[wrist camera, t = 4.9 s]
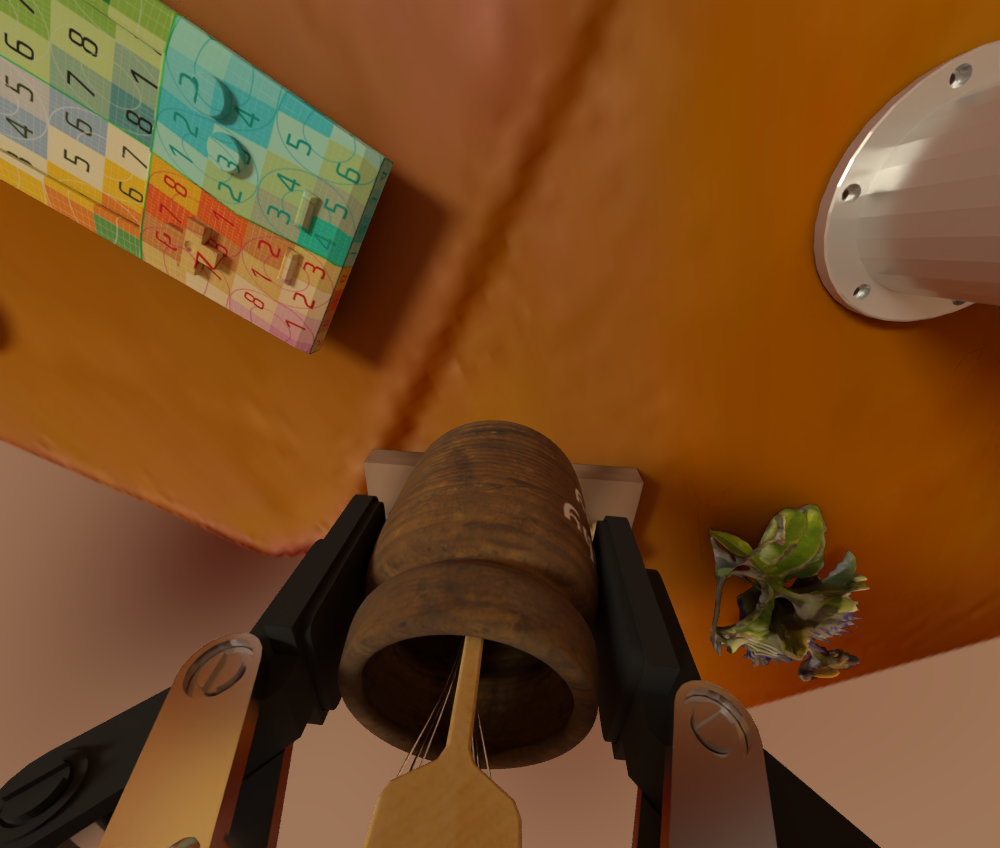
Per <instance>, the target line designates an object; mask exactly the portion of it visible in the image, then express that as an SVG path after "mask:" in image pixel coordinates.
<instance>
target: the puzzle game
mask: <svg viewBox="0 0 1000 848" xmlns="http://www.w3.org/2000/svg"><path fill="white" fill-rule="evenodd" d="M392 165H393V162H392V161H390V160H389V159H387V158H386V157H384V156H383V155H382V154H380V153H379V152H377V151H376V150H374V149H373V148H371V147H370V146H369V145H367V144H366V143H364V142H363V141H361V140H360V139H359V138H357V137H356V136H354V135H353V134H351V133H350V132H348V131H347V130H346V129H344V128H343V127H341V126H340V125H338V124H337V123H336V122H334V121H333V120H331V119H330V118H328V117H327V116H326V115H324V114H323V113H321V112H320V111H318V110H317V109H315V108H314V107H313V106H311V105H310V104H308V103H307V102H305V101H304V100H303V99H301V98H300V97H298V96H297V95H295V94H294V93H292V92H291V91H290V90H288V89H287V88H285V87H284V86H282V85H281V84H280V83H278V82H277V81H275V80H274V79H272V78H271V77H270V76H268V75H267V74H265V73H264V72H262V71H261V70H259V69H258V68H257V67H255V66H254V65H252V64H251V63H249V62H248V61H247V60H245V59H244V58H242V57H241V56H239V55H238V54H236V53H235V52H234V51H232V50H231V49H229V48H228V47H226V46H225V45H224V44H222V43H221V42H219V41H218V40H216V39H215V38H213V37H212V36H211V35H209V34H208V33H206V32H205V31H203V30H202V29H201V28H199V27H198V26H196V25H195V24H193V23H192V22H191V21H189V20H188V19H186V18H185V17H183V16H182V15H180V14H179V13H178V12H176V11H175V10H173V9H172V8H170V7H169V6H168V5H166V4H165V3H163V2H162V1H160V0H0V179H1V180H3V181H5V182H7V183H8V184H10V185H12V186H14V187H16V188H17V189H19V190H21V191H23V192H24V193H26V194H28V195H30V196H31V197H33V198H35V199H37V200H38V201H40V202H42V203H44V204H46V205H47V206H49V207H51V208H53V209H54V210H56V211H58V212H60V213H61V214H63V215H65V216H67V217H69V218H70V219H72V220H74V221H76V222H77V223H79V224H81V225H83V226H84V227H86V228H88V229H90V230H91V231H93V232H95V233H97V234H98V235H100V236H102V237H104V238H105V239H107V240H109V241H111V242H112V243H114V244H116V245H118V246H119V247H121V248H123V249H125V250H126V251H128V252H130V253H131V254H133V255H135V256H137V257H138V258H140V259H142V260H144V261H145V262H147V263H149V264H151V265H152V266H154V267H156V268H158V269H159V270H161V271H163V272H165V273H166V274H168V275H170V276H172V277H173V278H175V279H177V280H179V281H180V282H182V283H184V284H186V285H187V286H189V287H191V288H192V289H194V290H196V291H198V292H199V293H201V294H203V295H205V296H206V297H208V298H210V299H212V300H213V301H215V302H217V303H219V304H220V305H222V306H224V307H226V308H227V309H229V310H231V311H233V312H234V313H236V314H238V315H240V316H241V317H243V318H245V319H247V320H248V321H250V322H252V323H253V324H255V325H257V326H259V327H260V328H262V329H264V330H266V331H267V332H269V333H271V334H273V335H274V336H276V337H278V338H280V339H281V340H283V341H285V342H287V343H288V344H290V345H292V346H294V347H295V348H298V349H300V350H302V351H304V352H306V353H309V354H312V353H314V352H316V351H318V350H320V348H321V346H322V343H323V341H324V338H325V336H326V333H327V331H328V328H329V326H330V323H331V320H332V318H333V315H334V313H335V310H336V308H337V305H338V303H339V300H340V298H341V295H342V292H343V290H344V287H345V285H346V282H347V280H348V277H349V275H350V272H351V270H352V267H353V264H354V262H355V259H356V257H357V254H358V252H359V249H360V247H361V244H362V242H363V239H364V237H365V234H366V231H367V229H368V226H369V224H370V221H371V219H372V216H373V214H374V211H375V209H376V206H377V203H378V201H379V198H380V196H381V193H382V191H383V188H384V186H385V183H386V181H387V178H388V175H389V173H390V170H391V168H392Z"/></svg>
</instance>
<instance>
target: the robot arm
mask: <svg viewBox="0 0 1000 848" xmlns="http://www.w3.org/2000/svg"><path fill="white" fill-rule="evenodd" d="M814 254H815V261H816V267H817V271H818V273H819V275H820V278H821V280H822V283H823V285H824V287H825V288H826V289H827V290H828V292H829V293H830V294H831V296H832V297H833V298H834V299H835V300H836V301H837V302H839V303H840V304H841V305H843V306H844V307H845V308H847V309H848V310H850V311H853V312H855V313H858V314H860V315H863V316H866V317H871V318H876V319H880V320H885V321H900V322H910V321H918V320H926V319H932V318H935V317H939V316H942V315H946V314H950V313H953V312H956V311H958V310H960V309H963V308H965V307H967V306H970V305H972V304H974V303H981V304H989V305H997V306H1000V40H998V41H995V42H992V43H988V44H985V45H982V46H980V47H977V48H975V49H973V50H970V51H968V52H966V53H964V54H961V55H959V56H957V57H955V58H952V59H950V60H948V61H946V62H944V63H943V64H941V65H939V66H938V67H936V68H934V69H932V70H931V71H929V72H927V73H926V74H924V75H922V76H920V77H919V78H917V79H916V80H915V81H914V82H912V83H911V84H910V85H909V86H907V87H906V88H905V89H903V90H902V91H901V92H900V93H898V94H897V95H896V96H894V97H893V98H892V99H891V100H890V101H889V102H888V103H887V104H886V105H885V106H884V107H883V108H882V109H881V110H880V111H879V112H878V113H877V114H876V115H875V116H874V117H873V118H872V119H871V120H870V121H869V122H868V123H867V124H866V125H865V127H864V128H863V129H862V131H861V132H860V133H859V134H858V136H857V137H856V138H855V140H854V141H853V142H852V143H851V145H850V146H849V147H848V149H847V150H846V152H845V154H844V155H843V157H842V159H841V160H840V162H839V164H838V166H837V167H836V169H835V171H834V172H833V174H832V176H831V178H830V181H829V183H828V186H827V188H826V190H825V193H824V195H823V198H822V200H821V203H820V207H819V211H818V216H817V220H816V224H815V234H814ZM385 521H386V515H385V507H384V503H383V502H380V501H379V500H378V498H377V496H371V495H359V494H357V495H355V496H354V497H353V498H352V500H351V501H350V502H349V504H348V505H347V507H346V508H345V510H344V511H343V512H342V514H341V515H340V517H339V518H338V520H337V521H336V522H335V524H334V525H333V527H332V528H331V530H330V531H329V532H328V534H327V535H326V537H325V538H324V539H320V540H318V541H316V542H315V544H314V545H313V546H312V547H311V548H310V550H309V551H308V553H307V554H306V555H305V557H304V558H303V560H302V561H301V563H300V564H299V565H298V567H297V568H296V569H295V571H294V572H293V574H292V575H291V576H290V578H289V579H288V580H287V582H286V583H285V584H284V586H283V587H282V589H281V590H280V591H279V593H278V594H277V596H276V597H275V598H274V600H273V601H272V603H271V604H270V605H269V607H268V608H267V609H266V611H265V612H264V614H263V615H262V616H261V618H260V619H259V620H258V622H257V623H256V625H255V626H254V628H253V629H252V630H251V632H250V633H245V632H240V633H231V634H228V635H225V636H222V637H219V638H217V639H215V640H213V641H211V642H210V643H208V644H206V645H205V646H203V647H202V648H201V649H199V650H198V651H197V652H195V653H194V654H193V655H192V656H191V657H190V658H189V659H188V660H187V661H186V663H185V664H184V665H183V666H182V668H181V669H180V671H179V673H178V674H177V676H176V678H175V680H174V682H173V684H172V686H171V687H169V688H168V689H166V690H164V691H162V692H160V693H159V694H156V695H155V696H153V697H151V698H149V699H147V700H145V701H143V702H141V703H139V704H138V705H136V706H134V707H132V708H130V709H128V710H126V711H125V712H122V713H121V714H119V715H117V716H115V717H113V718H111V719H109V720H107V721H106V722H104V723H102V724H100V725H98V726H96V727H94V728H92V729H91V730H89V731H87V732H85V733H83V734H81V735H79V736H77V737H76V738H74V739H72V740H70V741H68V742H66V743H64V744H62V745H61V746H59V747H57V748H55V749H53V750H51V751H49V752H48V753H46V754H45V755H43V756H41V757H40V758H38V759H37V760H35V761H33V762H32V763H30V764H29V765H27V766H26V767H25V768H24V769H22V770H21V771H20V772H19V773H17V774H16V775H15V776H14V777H12V778H11V779H10V780H9V781H8V782H7V783H6V784H5V785H4V786H3V787H2V788H1V789H0V848H276V847H277V841H278V835H279V829H280V823H281V816H282V810H283V804H284V798H285V792H286V786H287V779H288V774H289V768H290V762H291V756H292V750H293V743H294V741H295V740H297V739H298V738H300V737H301V735H302V733H303V731H304V728H305V726H306V724H307V723H309V724H318V725H323V723H324V720H325V718H326V716H327V713H328V711H329V710H334V709H336V707H337V706H338V704H339V702H340V700H341V697H342V696H341V693H340V689H339V684H338V671H339V665H340V661H341V657H342V653H343V649H344V645H345V642H346V638H347V635H348V632H349V628H350V625H351V623H352V620H353V618H354V616H355V614H356V612H357V610H358V609H359V607H360V605H361V604H362V602H363V601H364V600H365V599H366V575H367V569H368V565H369V561H370V557H371V554H372V551H373V548H374V546H375V543H376V541H377V539H378V536H379V534H380V532H381V530H382V527H383V525H384V523H385ZM593 546H594V552H595V558H596V564H597V572H598V581H599V603H598V612H597V616H596V620H595V624H594V627H593V630H592V632H591V633H592V635H593V638H594V640H595V644H596V648H597V653H598V660H599V697H598V707H599V714H600V721H601V727H602V734H603V738H604V740H605V741H607V742H612V748H613V754H614V759H619V760H626V765H627V770H628V776H629V777H630V778H631V779H632V780H633V781H634V782H635V784H636V785H637V786H638V788H637V798H636V808H635V819H634V828H633V838H632V848H881V847H879V846H878V845H877V844H876V843H874V842H873V841H872V840H871V839H870V838H869V837H867V836H866V835H865V834H864V833H863V832H862V831H860V830H859V829H858V828H857V827H855V826H854V825H853V824H852V823H851V822H850V821H849V820H847V819H846V818H845V817H844V816H843V815H841V814H840V813H839V812H838V811H837V810H836V809H834V808H833V807H832V806H831V805H830V804H828V803H827V802H826V801H825V800H824V799H822V798H821V797H820V796H819V795H818V794H816V793H815V792H814V791H813V790H812V789H811V788H810V787H808V786H807V785H806V784H805V783H804V782H802V781H801V780H800V779H799V778H798V777H796V776H795V775H794V774H793V773H792V772H791V771H789V770H788V769H787V768H786V767H784V765H782V764H781V763H780V762H779V761H777V760H776V759H775V758H774V757H773V756H772V755H771V754H769V753H768V752H767V751H766V750H764V749H763V745H762V741H761V737H760V734H759V730H758V728H757V726H756V724H755V723H754V721H753V719H752V717H751V715H750V714H749V713H748V711H747V710H746V709H745V708H744V706H743V705H742V704H741V703H740V702H739V701H738V700H737V699H736V698H735V697H733V696H732V695H731V694H730V693H729V692H728V691H726V690H724V689H722V688H721V687H719V686H717V685H715V684H713V683H709V682H706V681H703V680H701V678H700V675H699V673H698V670H697V668H696V665H695V663H694V660H693V658H692V655H691V652H690V650H689V647H688V645H687V642H686V640H685V637H684V634H683V632H682V629H681V627H680V624H679V622H678V619H677V616H676V614H675V611H674V609H673V606H672V604H671V601H670V598H669V596H668V593H667V591H666V588H665V586H664V583H663V581H662V578H661V576H660V574H659V572H658V571H657V570H653V569H645V566H644V564H643V561H642V558H641V555H640V552H639V549H638V546H637V544H636V541H635V538H634V535H633V532H632V529H631V526H630V524H629V521H628V519H627V518H626V517H617V516H605V517H604V520H603V521H602V520H598V521H597V524H596V528H595V533H594V538H593Z"/></svg>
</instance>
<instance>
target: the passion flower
mask: <svg viewBox="0 0 1000 848" xmlns="http://www.w3.org/2000/svg"><path fill="white" fill-rule="evenodd" d="M826 529H827V527H826V525H825V523H824V521H823V519H822V515H821V511H820V509H819V508H818V507H817V506H816V505H810V504H809V505H805V506H802V507H801V508H799V509H793V508H787V509H783V510H782V511H780V512H779V513H777V514H776V515H775V516H774V517H773V518H772V519H771V521H770V523H769V525H768V527H767V528H766V530H765V532H764V533H763V535H762V538H761V540H760V543H759V544H758V546H757V548H756V549H754V550H753V549H752V548H751V547H750V545H749V544H748V543H747V542H745V541H743V540H742V539H740V538H739V537H737V536H735V535H732V534H729V533H726V532H721V531H712V528H710V529H709V533H710V536H711V538H710V539H711V543H712V547H713V551H714V557H715V562H716V565H715V576H716V579H717V593H716V602H715V611H714V617H713V622H712V626H711V636H710V641H711V642H712V643H713V647H714V649H715V650H716V651H717V652H718V653H719V656H720V655H721V645H724V646H726V647H727V651H728V652H729V653H731V654H732V653H734V652H735V651H736V650H737V649H738V647H739V646H743V647H744V648H745V649H746V651H747V654H745V655H744V657H745V658H750V659H752V660H753V666H758V665H759V664H760V663H762V665H763V666H766V664H767V665H768V664H769V661H770V660H771V659H773V660H774V661H775V662H776V663H778V662H779V660H782V661H783V662H787V663H789V662H792V659H794V660H798V661H800V660H802V659H803V656H805V657H809V654H808V651H810V652H811V655H810V657H809V658H808V659H807V660H805V661H803V662H802V663H801V665H800V667H799V670H798V676H799V677H800V678H801V679H802V680H803V681H809V680H814V679H817V678H818V677H820V678H832V677H835V676H838V675H839V674H840V672H839V669H848V668H850V667H854V666H856V665H859V664H860V660H859V659H858V658H857V657H856V656H853V655H850V654H849V653H847V652H845V651H844V650H842V649H835V650H831V651H827V650H826V648H825V647H820V646H819V645H817V644H816V643H815V642H814V641H813V640H815V639H817V640H821V641H825V642H827V643H831V642H830V641H828V640H826V639H825V638H828V637H833V635H840V636H842V634H841V633H839V632H847V633H851V632H850V631H848V630H844V629H841V628H842V627H846V626H848V627H850V625H855V624H853V622H852V620H856V619H862V618H856V617H853V616H852V615H851V614H854V613H855V611H859V609H857V607H856V605H857V604H858V601H852V600H850V599H851V598H850V597H849V595H851V594H850V592H853V591H859V590H867V589H870V588H869V587H867V586H866V585H865V583H859V582H858V581H863V580H867V578H866V577H865V576H862V575H856V574H854V572H855V570H856V567H857V564H856V558H855V556H854V555H853V554H852V553H851V552H850V551H846V552H847V555H846V556H845V557H844V559H843V562H841V563H838V565H837V566H836V568H835V570H833V571H831V572H829V576H828V577H826V578H824V579H823V580H822V581H821V579H820V576H819V575H818V572H819V571H820V570H821V569H822V568H823V566H824V562H823V560H824V548H825V545H826V541H825V535H824V532H825V531H826ZM715 539H716V540H717V541H718V542H720V543H721V544H722V545H723V546H724V547H725V548H727V549H728V550H729V551H730V552H731V553H732V554H733V555H734V556H735V558H736V562H734V561H733V559H732V556H731V554H730V553H728V552H727V551H723V550H721V549H720V548H719V547H718V545H717V542H716V540H715ZM740 565H746V566H749V567H750V569H748V570H744V571H743V570H735V568H736V567H737V566H740ZM733 575H735V576H738V577H740V578H742V579H744V580H745V581H747V582H749V583H750V584H751V585H753V587H752V588H751V589H749V590H747V591H746V592H745V593H743V594H740V595H738V596H737V603H738V607H739V610H740V612H739V613H740V618H739V622H737V624H734V625H732V626H726V627H716V625H717V621H718V617H719V613H720V600H721V594H722V587H723V585H724V583H725V581H726V580H727V578H729V577H731V576H733ZM745 576H749V577H752V578H754V579H755V580H757V581H756V583H755V584H754V583H752V582H751V581H750V580H749V579H747V578H746V577H745ZM794 577H797V579H796V581H795V582H794V583H793V585H792V586H791V587H789V588H787V587H785V586H784V585H783V582H789V580H790V579H791V578H794ZM856 627H857V626H856ZM838 654H839V655H838Z"/></svg>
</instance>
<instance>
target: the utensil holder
mask: <svg viewBox="0 0 1000 848" xmlns="http://www.w3.org/2000/svg"><path fill="white" fill-rule="evenodd" d="M598 603H599V581H598V572H597V564H596V558H595V552H594V546H593V541H592V536H591V531H590V526H589V521H588V516H587V511H586V507H585V502H584V498H583V494H582V490H581V486H580V483H579V480H578V477H577V475H576V473H575V471H574V468H573V466H572V465H571V463H570V461H569V460H568V458H567V457H566V455H565V454H564V453H563V452H562V451H561V449H560V448H559V447H558V446H557V445H556V444H554V443H553V442H552V441H551V440H550V439H548V438H547V437H545V436H544V435H542V434H541V433H539V432H537V431H535V430H533V429H531V428H528V427H526V426H523V425H520V424H516V423H512V422H506V421H493V420H492V421H479V422H473V423H469V424H465V425H463V426H460V427H457V428H455V429H453V430H451V431H449V432H447V433H446V434H444V435H443V436H441V437H440V438H439V439H437V440H436V441H435V442H434V443H433V444H432V445H431V446H430V447H429V448H428V449H427V450H426V451H425V453H424V454H423V455H422V456H421V458H420V459H419V461H418V462H417V464H416V465H415V467H414V469H413V470H412V472H411V474H410V476H409V478H408V479H407V481H406V483H405V485H404V487H403V489H402V490H401V492H400V494H399V496H398V498H397V500H396V502H395V504H394V506H393V508H392V509H391V511H390V513H389V515H388V517H387V519H386V521H385V523H384V525H383V527H382V530H381V532H380V534H379V536H378V539H377V541H376V543H375V546H374V548H373V551H372V554H371V557H370V561H369V565H368V569H367V575H366V599H365V600H364V601H363V602H362V604H361V605H360V607H359V609H358V610H357V612H356V614H355V616H354V618H353V620H352V623H351V625H350V628H349V632H348V635H347V638H346V642H345V645H344V649H343V653H342V657H341V661H340V665H339V671H338V684H339V689H340V693H341V696H342V698H343V700H344V702H345V704H346V706H347V707H348V709H349V711H350V712H351V713H352V714H353V716H354V717H355V718H356V719H357V720H358V721H359V722H360V723H361V724H362V725H363V726H364V727H365V728H366V729H368V730H369V731H370V732H371V733H373V734H374V735H376V736H377V737H379V738H380V739H382V740H384V741H385V742H387V743H389V744H391V745H392V746H394V747H396V748H398V749H401V750H403V751H405V752H407V753H409V754H408V756H407V758H406V760H405V762H404V764H403V766H402V768H401V770H400V771H399V774H398V775H397V777H396V778H395V779H393V780H391V781H390V782H389V783H388V785H387V786H386V787H385V788H384V790H383V791H382V792H381V794H380V795H379V797H378V800H377V803H376V806H375V809H374V813H373V816H372V819H371V822H370V826H369V829H368V832H367V835H366V839H365V842H364V845H363V848H522V824H521V823H522V822H521V817H520V814H519V811H518V809H517V806H516V803H515V801H514V800H513V799H512V798H511V797H510V796H509V795H508V794H507V793H506V792H504V790H502V789H501V788H500V787H499V786H498V785H497V784H496V783H495V782H494V781H493V780H492V779H491V773H490V769H507V768H516V767H523V766H529V765H534V764H538V763H542V762H545V761H548V760H551V759H553V758H555V757H558V756H560V755H562V754H564V753H566V752H567V751H569V750H571V749H572V748H574V747H575V746H576V745H577V744H579V743H580V742H581V741H582V740H583V739H584V738H585V737H586V736H587V734H588V733H589V732H590V730H591V728H592V727H593V724H594V722H595V719H596V716H597V710H598V697H599V660H598V653H597V648H596V644H595V640H594V638H593V635H592V633H591V632H592V630H593V627H594V624H595V620H596V616H597V612H598ZM411 754H412V755H415V756H416V757H415V759H414V761H413V764H412V766H411V768H410V771H409V772H408V773H406V774H403V775H401V773H402V770H403V768H404V767H405V765H406V763H407V761H408V759H409V757H410V755H411ZM418 757H421V758H422V761H421V763H420V766H419V767H418V768H416V769H414V770H413V767H414V765H415V763H416V761H417V758H418ZM424 759H427V760H431V762H429V763H427V764H425V765H423V766H422V764H423V761H424ZM481 769H488V775H489V777H488V776H487V775H486V774H485V773H484V772H483V771H482V770H481ZM400 775H401V776H400Z"/></svg>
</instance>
